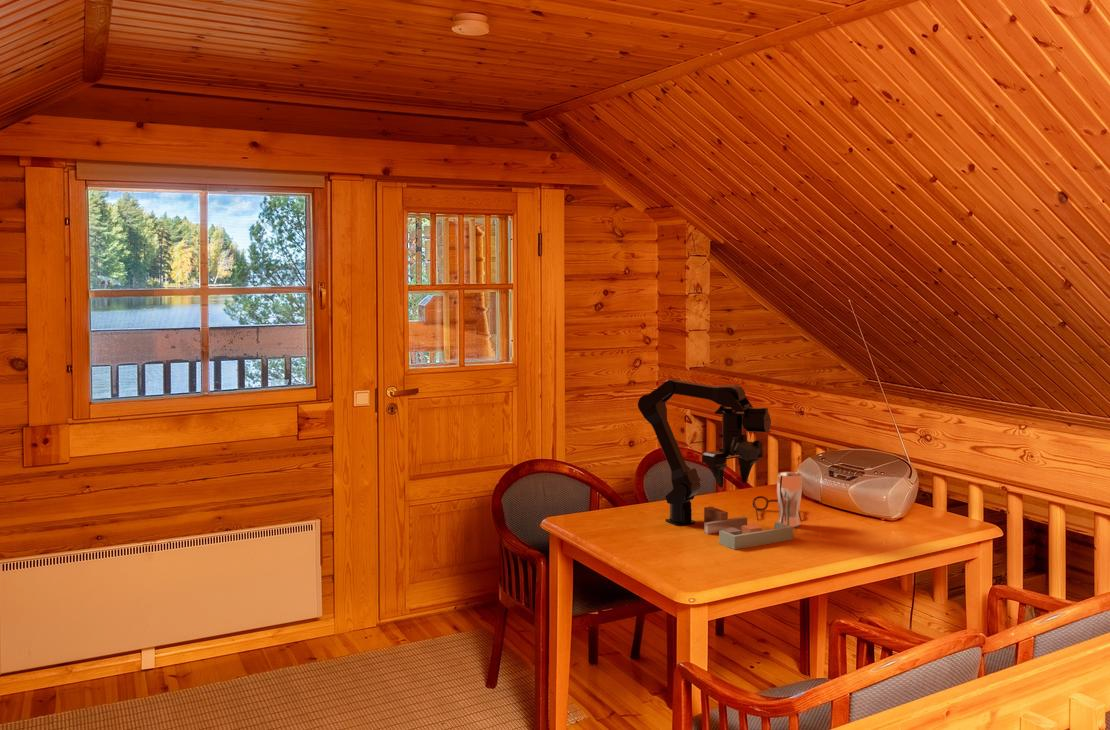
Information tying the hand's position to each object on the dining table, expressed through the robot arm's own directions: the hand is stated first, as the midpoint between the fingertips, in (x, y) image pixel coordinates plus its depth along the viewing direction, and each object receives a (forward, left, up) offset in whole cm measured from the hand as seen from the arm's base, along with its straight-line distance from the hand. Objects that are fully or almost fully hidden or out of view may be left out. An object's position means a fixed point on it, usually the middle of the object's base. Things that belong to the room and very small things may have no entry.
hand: (732, 485), depth 279 cm
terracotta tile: (+7, +1, -13) cm, 15 cm away
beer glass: (+4, +17, -13) cm, 22 cm away
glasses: (-6, +22, -13) cm, 26 cm away
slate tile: (+7, -6, -13) cm, 16 cm away
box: (+13, -2, -13) cm, 18 cm away
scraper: (-4, -2, -13) cm, 14 cm away
